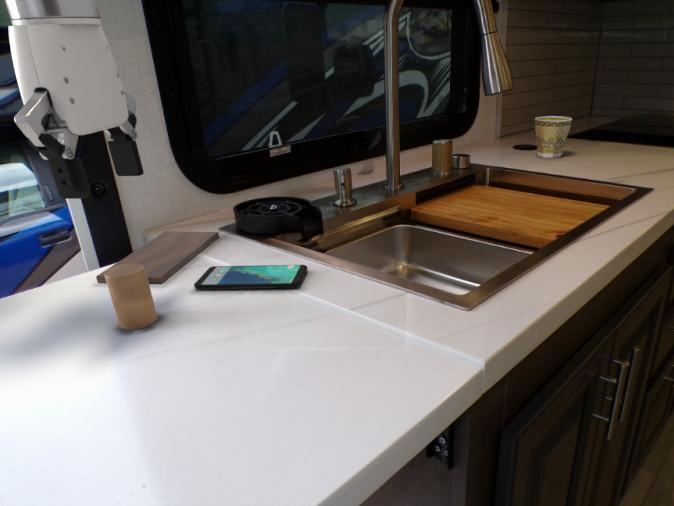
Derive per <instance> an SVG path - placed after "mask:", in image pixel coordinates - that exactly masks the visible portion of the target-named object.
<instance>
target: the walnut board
mask: <svg viewBox="0 0 674 506" xmlns="http://www.w3.org/2000/svg"><path fill="white" fill-rule="evenodd" d="M219 238H220V235H219V231H169V230H167V231H164V232H162V233H161V234H159V235H158V236H156V237H154V238H153V239H152V240H150V241H148V242H147V243H145V244H144V245H142V246H141V247H139V248H137V249H136V250H135V251H132V252H131V253H129V254H128V255H126V256H125V257H124V258H122V259H120V260H119V261H117V262H116V263H114V264H112V266H109V267H108V268H107V269H105V270H104V271H102V272H100V273H99V274H97V275H96V276H95V278H96V282H97V283H99V284H100V283H103V284H105V283H106V279H105V276H104V273H105V271H106V270H108V269H110V268H112V267H115V266H118V265H122V264H128V263H139V264H142V265H144V267H145V271H146V275H147V278H148V282H149V285H151V284H153V285H162V284H164V283H165V282H166V281H167V280H168V279H170V278H171V277H172V276H173V275H174V274H176V273H177V272H178V271H179V270H181V269H182V268H183V267H185V266H186V265H187V264H189V262H190V261H192V260H193V259H194V258H195V257H197V256H199V254H201V253H202V252H203V251H204V250H205V249H206V248H208V247H209V246H210V245H212V244H213V243H214V242H215V241H216V240H217V239H219ZM106 284H107V283H106Z"/></svg>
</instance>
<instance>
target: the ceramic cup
mask: <svg viewBox="0 0 674 506" xmlns="http://www.w3.org/2000/svg"><path fill="white" fill-rule="evenodd" d="M572 122H573V118H572V117H569V116H561V115H559V116H558V115H545V116H538V117H534V130H535V138H536V152H537V156H538V157H542V158H549V159H550V158H551V159H552V158H553V159H554V158H560V157H562V155H563V152H564V149H565V145H566V141H567V138H568V135H569V132H570V129H571V126H572Z"/></svg>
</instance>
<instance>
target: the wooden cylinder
mask: <svg viewBox="0 0 674 506" xmlns="http://www.w3.org/2000/svg"><path fill="white" fill-rule="evenodd" d="M109 268H110V267H109ZM107 269H108V268H107ZM107 269H105V270H106V271H105V270H104V271H105V273H104V276H105V279H106V286H107V289H108V293H109V294H110V299H111V301H112V305H113V308H114V311H115V315H116V319H117V323H118V325H119V327H120V328H121V329H123V330H126V331H132V330H133V331H134V330H139V329H140V330H141V329H144V328H147V327H150V326H151V325H153V324H155V322H157V321H158V318H159V316H158V312H157V308H156V306H155V301H154V297H153V294H152V290H151V286H150V284H149V282H148V278H147V275H146V271H145V267H144V265H142V264H139V263H128V264H122V265H118V266H115V267H112V268H110V269H108V270H107Z"/></svg>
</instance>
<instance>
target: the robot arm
mask: <svg viewBox="0 0 674 506" xmlns="http://www.w3.org/2000/svg"><path fill="white" fill-rule="evenodd" d="M4 2H5V6H6V9H7V12H8V15H9V18H10V21H11V24H12V25H8V26H7V27H8V41H9V47H10V54H11V59H12V63H13V65H12V66H13V69H14V70H13V71H14V74H15V77H16V81H17V86H18V90H19V94H20V97H21V100H22V104H23V106H22V107H21V108H20V109H19V110H18V111H17V113H16V114H15V115H14V117H13V118H14V119H13V120H14V124H15V125H16V126H17V128H19V130H20V131H21V132H22V134H23V135H24V136H25V137H26V138H27V141H28V144H29V145H30V146H31V147H32V148H33V149H35V150H36V151H37V152H38V153H39V156H40V157H41V159H43V160H44V161H47V163H48V165H49V169H50V172H51V174H52V178H53V180H54V183H55V186H56V190H57V192H58V196H59V197H60V198H61V199H64V200H66V199H67V200H69V199H71V200H73V199H75V200H76V199H82V200H83V199H88V198H91V197H92V190H91V186H90V184H89V180H88V178H87V174H86V171H85V167H84V164H83V161H82V158H81V157H75V156H76V150H77V146H78V142H79V136H85V135H91V134H94V133H97V132H101V131H102V132H104V134H106V135H107V136H108V138H109V139H110V140H108V141H107V146H108V150H109V153H110V157H111V160H112V164H113V167H114V171H115V174H116V176H118V177H140V176H143V175H144V173H145V172H144V168H143V163H142V159H141V156H140V151H139V148H138V145H137V139H138V131H136V126H137V122H138V121H137V119H138V118H137V116H136V99H135V97H134V96H132V95H131V94H130V93H128V92H127V91H126V90H124V87H123V83H122V80H121V77H120V74H119V71H118V68H117V64H116V61H115V58H114V55H113V52H112V49H111V47H110V44H109V41H108V39H107V36H106V34H105V32H104V29H103V26H102V25H103V23H102V20H101V15H100V12H99V7H98V4H97V0H4ZM58 139H62V143H61V142H60V141H59V140H58Z"/></svg>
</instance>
